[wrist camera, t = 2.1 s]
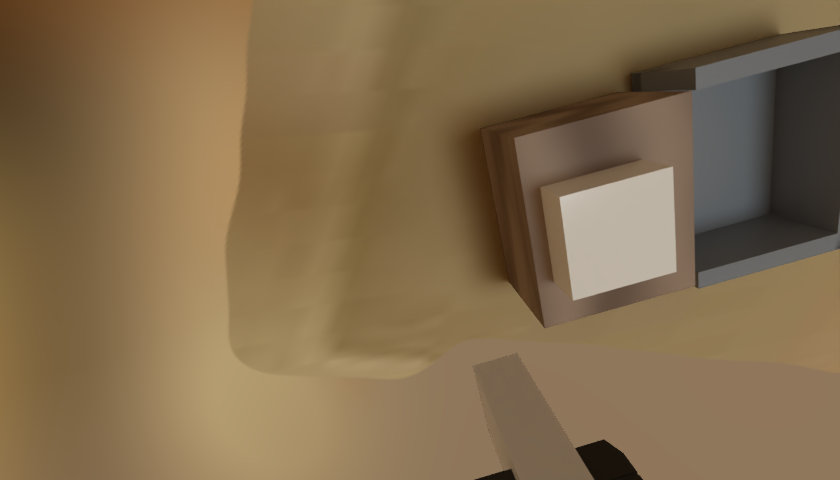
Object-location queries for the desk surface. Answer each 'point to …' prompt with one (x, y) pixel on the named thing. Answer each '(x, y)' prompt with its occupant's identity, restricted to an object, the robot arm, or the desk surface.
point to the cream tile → (611, 228)
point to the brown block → (576, 156)
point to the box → (761, 150)
